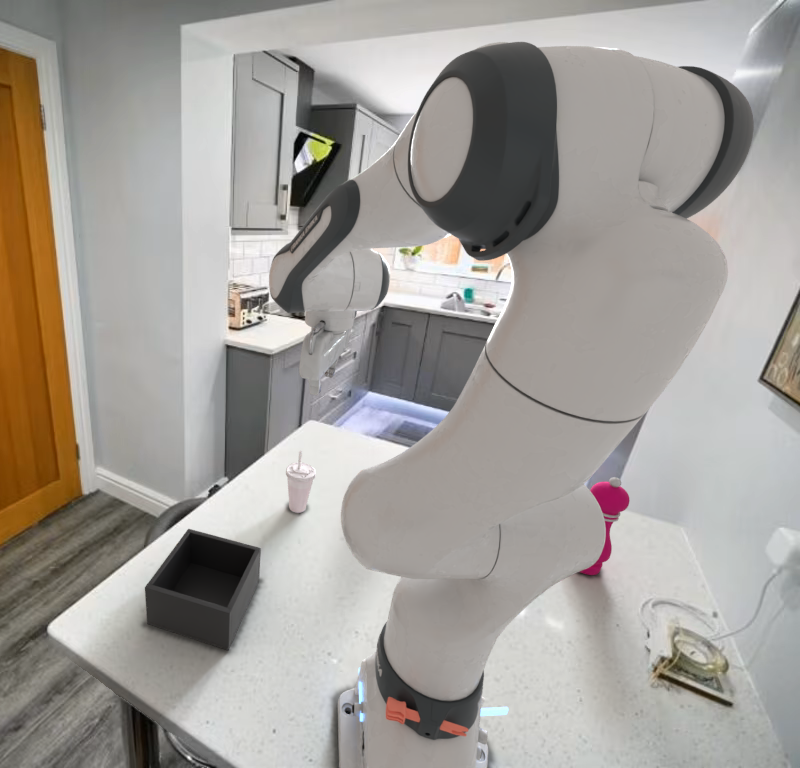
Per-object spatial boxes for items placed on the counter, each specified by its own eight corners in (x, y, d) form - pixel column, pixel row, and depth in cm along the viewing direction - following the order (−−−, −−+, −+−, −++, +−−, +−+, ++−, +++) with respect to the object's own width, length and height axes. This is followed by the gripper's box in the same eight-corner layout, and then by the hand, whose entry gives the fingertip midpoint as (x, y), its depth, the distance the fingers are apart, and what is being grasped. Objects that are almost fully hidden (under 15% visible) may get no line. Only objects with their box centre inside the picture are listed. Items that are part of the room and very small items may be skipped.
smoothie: (293, 494, 100) (298, 441, 95) (317, 506, 97) (323, 452, 92) (277, 508, 96) (281, 453, 90) (301, 521, 92) (307, 464, 87)
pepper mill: (605, 564, 87) (643, 479, 79) (598, 583, 82) (638, 495, 74) (565, 544, 91) (597, 462, 83) (556, 562, 86) (590, 477, 78)
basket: (228, 650, 64) (229, 613, 62) (147, 623, 67) (144, 587, 65) (259, 581, 77) (261, 547, 74) (188, 561, 80) (188, 528, 77)
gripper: (330, 333, 69) (321, 410, 75) (359, 306, 87) (350, 370, 92) (293, 326, 71) (287, 402, 77) (329, 301, 89) (322, 364, 94)
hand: (322, 384), depth 85 cm, fingers open, 8 cm apart
